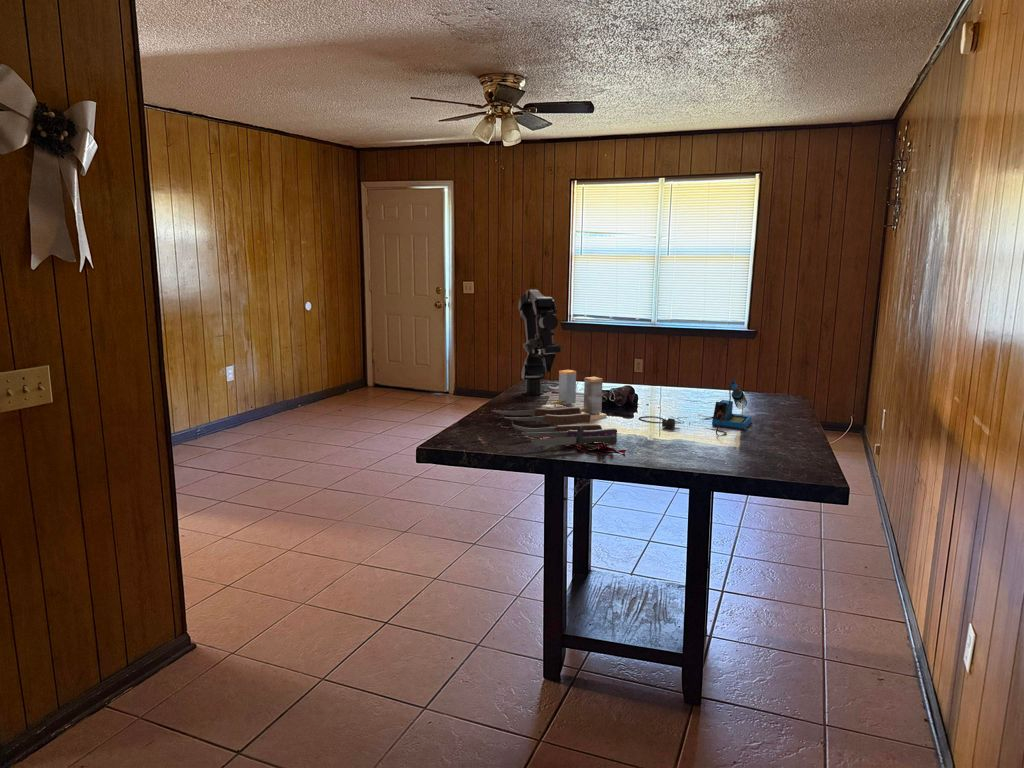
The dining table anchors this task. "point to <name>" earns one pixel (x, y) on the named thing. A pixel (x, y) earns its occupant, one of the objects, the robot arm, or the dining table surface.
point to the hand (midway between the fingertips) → (548, 372)
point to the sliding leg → (566, 387)
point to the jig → (588, 399)
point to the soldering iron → (719, 413)
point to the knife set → (563, 427)
